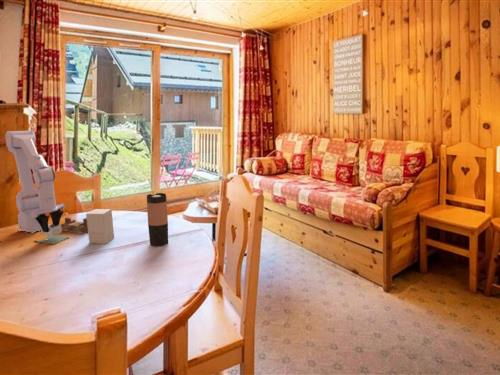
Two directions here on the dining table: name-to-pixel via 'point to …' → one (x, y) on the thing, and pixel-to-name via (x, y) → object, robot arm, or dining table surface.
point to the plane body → (75, 225)
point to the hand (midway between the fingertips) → (51, 229)
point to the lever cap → (52, 229)
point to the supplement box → (100, 226)
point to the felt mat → (53, 239)
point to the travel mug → (157, 219)
